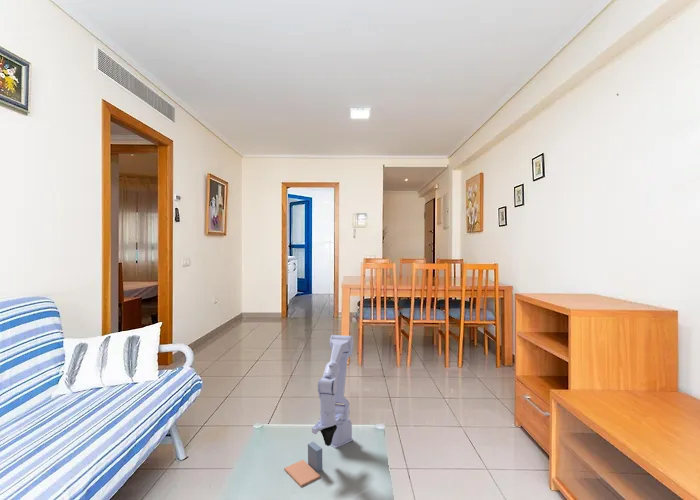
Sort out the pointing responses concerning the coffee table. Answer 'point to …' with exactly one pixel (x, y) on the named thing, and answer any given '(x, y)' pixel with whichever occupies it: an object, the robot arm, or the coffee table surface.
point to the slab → (315, 456)
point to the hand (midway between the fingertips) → (328, 444)
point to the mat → (302, 473)
